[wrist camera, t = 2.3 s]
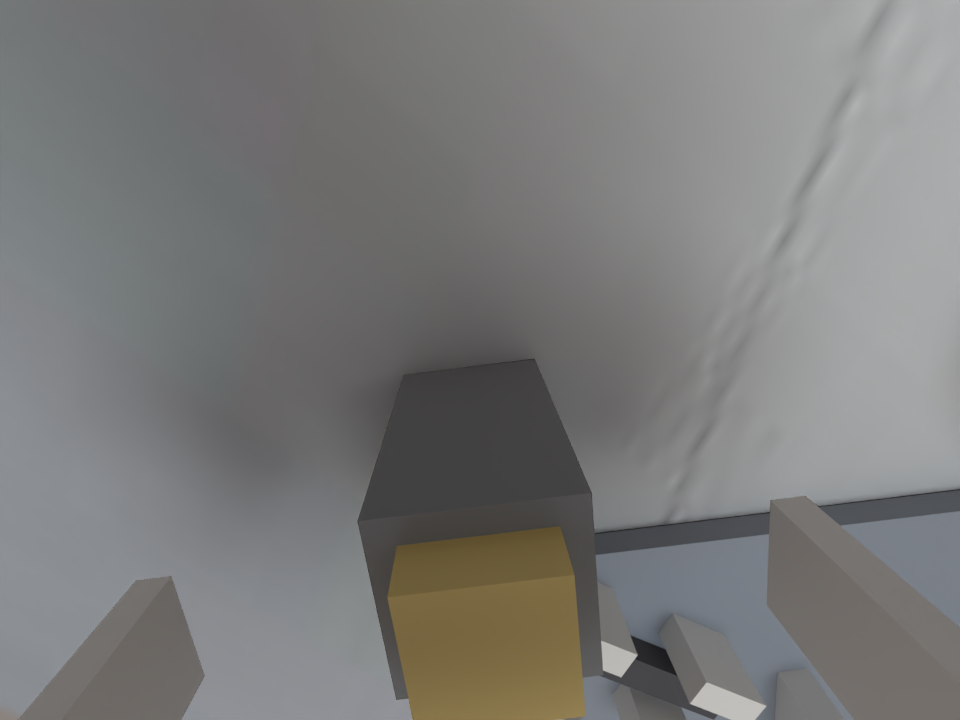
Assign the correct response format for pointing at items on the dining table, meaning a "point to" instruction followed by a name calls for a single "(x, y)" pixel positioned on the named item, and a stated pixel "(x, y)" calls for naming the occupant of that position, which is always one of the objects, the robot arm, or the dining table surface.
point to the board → (742, 602)
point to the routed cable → (656, 677)
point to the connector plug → (483, 549)
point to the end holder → (802, 698)
